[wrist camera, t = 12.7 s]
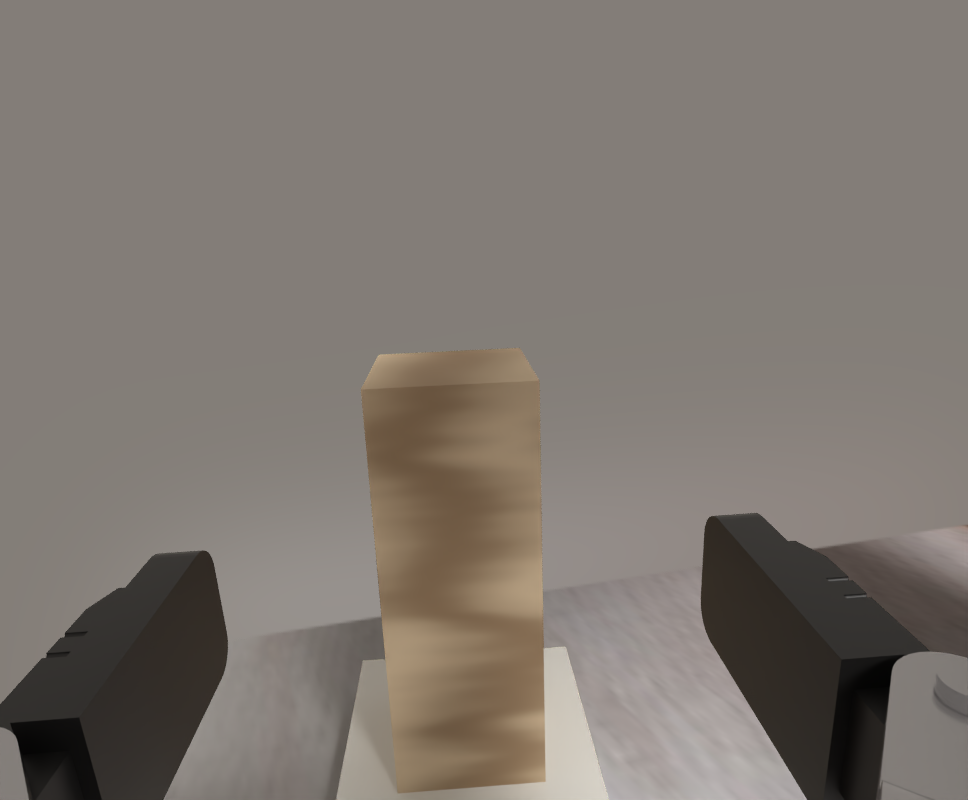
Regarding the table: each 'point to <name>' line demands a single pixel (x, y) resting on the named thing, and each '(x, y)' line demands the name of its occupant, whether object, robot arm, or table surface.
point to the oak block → (459, 564)
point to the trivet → (564, 796)
